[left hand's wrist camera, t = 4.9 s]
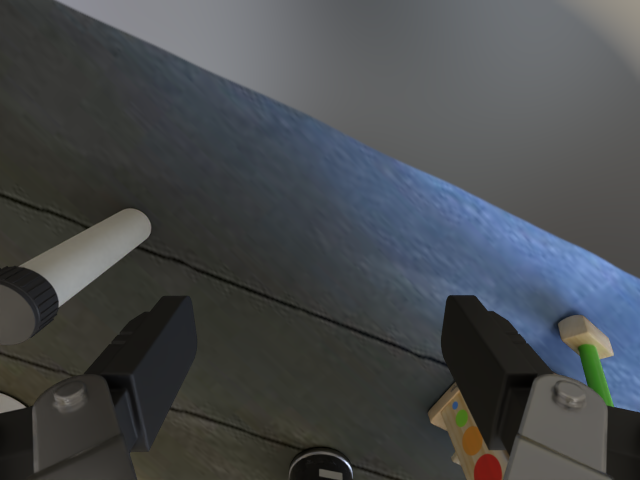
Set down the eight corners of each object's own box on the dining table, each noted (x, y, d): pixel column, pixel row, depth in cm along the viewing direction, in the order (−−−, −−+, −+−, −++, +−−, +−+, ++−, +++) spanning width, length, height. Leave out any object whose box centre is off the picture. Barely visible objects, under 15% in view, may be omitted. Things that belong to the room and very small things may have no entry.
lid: (45, 261, 25) (18, 277, 23) (70, 322, 27) (47, 342, 25) (-24, 268, 25) (-57, 284, 23) (5, 329, 27) (-23, 349, 25)
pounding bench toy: (539, 287, 44) (675, 401, 27) (623, 338, 46) (796, 472, 30) (424, 414, 51) (476, 567, 34) (503, 452, 53) (588, 612, 36)
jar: (146, 206, 40) (20, 281, 23) (155, 240, 42) (43, 333, 25) (110, 210, 41) (-40, 287, 24) (121, 243, 42) (-14, 339, 25)
